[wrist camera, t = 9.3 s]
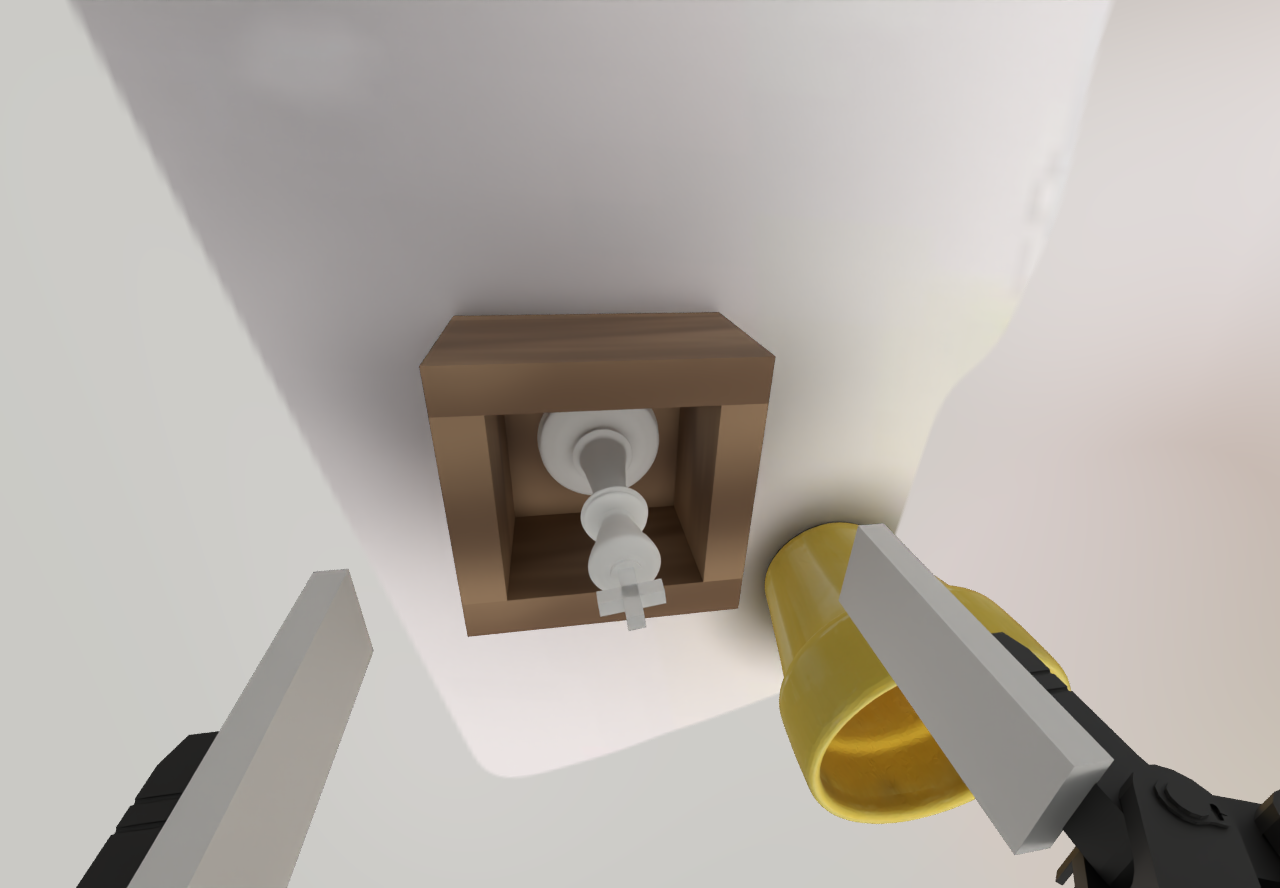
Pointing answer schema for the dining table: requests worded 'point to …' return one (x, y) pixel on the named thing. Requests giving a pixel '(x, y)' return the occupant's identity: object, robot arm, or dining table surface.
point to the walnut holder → (551, 514)
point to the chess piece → (610, 499)
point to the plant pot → (859, 691)
